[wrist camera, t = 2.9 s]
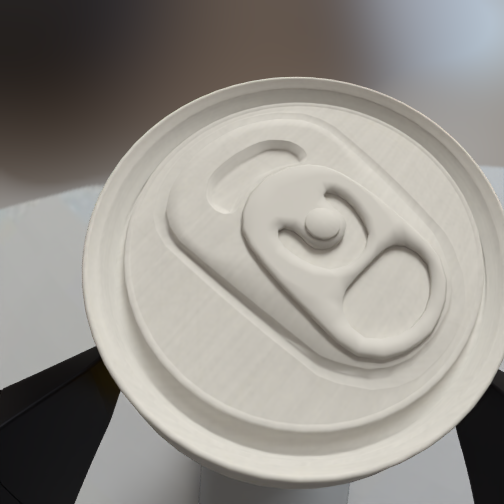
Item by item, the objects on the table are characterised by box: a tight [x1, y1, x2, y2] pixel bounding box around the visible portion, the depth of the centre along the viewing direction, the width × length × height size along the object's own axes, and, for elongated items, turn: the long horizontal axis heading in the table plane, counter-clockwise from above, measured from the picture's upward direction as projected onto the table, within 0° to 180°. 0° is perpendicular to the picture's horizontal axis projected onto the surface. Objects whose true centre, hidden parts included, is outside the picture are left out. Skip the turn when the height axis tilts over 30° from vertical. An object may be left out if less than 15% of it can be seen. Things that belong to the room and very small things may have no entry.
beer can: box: [82, 77, 504, 489], centre depth 10 cm, size 6×6×15 cm
